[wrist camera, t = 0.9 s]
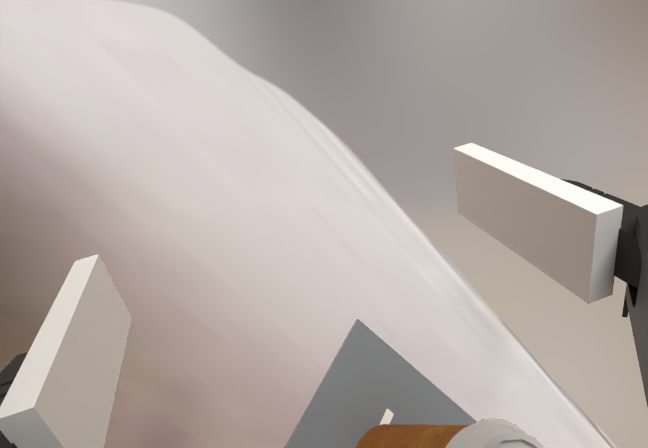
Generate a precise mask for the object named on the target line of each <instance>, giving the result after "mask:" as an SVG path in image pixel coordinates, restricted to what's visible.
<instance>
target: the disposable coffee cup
mask: <svg viewBox="0 0 648 448" xmlns="http://www.w3.org/2000/svg"><path fill="white" fill-rule="evenodd" d="M356 448H545V447H544V446H542V445H541V444H540V443H539V442H538V441H537V440H536V439H535V438H534V437H532V436H530V435H527V434H526V433H525V432H524V431H522V430H521V429H520V428H519V427H517V426H516V425H515V424H512V423H510V422H507V421H505V420H501V419H483V420H481V421H479V422H477V423H474V424H471V425H429V424H426V425H423V424H420V425H417V424H415V425H412V424H409V425H406V424H404V425H402V424H398V425H397V424H393V425H392V424H382V425H378V426H376V427H373V428H371V429H370V430H369V431H367V432H366V433H365V434H364V435H363V436H362V437H361V439H360V440H359V442H358V444H357V445H356Z"/></svg>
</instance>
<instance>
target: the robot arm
mask: <svg viewBox="0 0 648 448" xmlns="http://www.w3.org/2000/svg"><path fill="white" fill-rule="evenodd" d="M454 161H455V176H456V191H457V205H458V213H459V214H461V215H462V216H464V217H465V218H466V219H468V220H469V221H471V222H472V223H474V224H475V225H477V226H478V227H479V228H481V229H482V230H484V231H485V232H487V233H488V234H489V235H491V236H492V237H494V238H495V239H497V240H498V241H499V242H501V243H502V244H504V245H505V246H507V247H508V248H509V249H511V250H513V251H514V252H515V253H517V254H518V255H519V256H521V257H523V258H524V259H525V260H527V261H528V262H529V263H531V264H532V265H534V266H535V267H537V268H538V269H540V270H541V271H542V272H544V273H545V274H547V275H548V276H550V277H551V278H552V279H554V280H555V281H557V282H558V283H560V284H561V285H563V286H564V287H565V288H567V289H568V290H570V291H571V292H573V293H574V294H575V295H577V296H578V297H580V298H581V299H582V300H584V301H585V302H587V303H588V304H589V303H591V302H594V301H597V300H599V299H602V298H605V297H607V296H610V295H612V292H613V284H614V276H616V277H618V278H620V279H621V280H623V281H625V282H626V283H627V287H626V293H625V301H624V307H623V314H622V317H627V316H628V312H629V316H630V321H631V326H632V331H633V336H634V340H635V346H636V351H637V356H638V361H639V366H640V371H641V375H642V381H643V386H644V391H645V395H646V401H647V406H648V205H645V206H642V207H639V206H637V205H634V204H632V203H629V202H627V201H624V200H622V199H619V198H617V197H614V196H612V195H609V194H604V192H602V191H599V190H597V189H592V187H589V186H587V185H584V184H582V183H579V182H575V181H570V180H564V179H558V178H556V177H553V176H551V175H548V174H546V173H543V172H541V171H539V170H536V169H534V168H531V167H529V166H527V165H524V164H522V163H519V162H517V161H514V160H512V159H509V158H507V157H505V156H502V155H500V154H497V153H495V152H492V151H490V150H487V149H485V148H483V147H480V146H478V145H475V144H473V143H470V144H466V145H463V146H460V147H457V148H454ZM131 320H132V317H131V315H130V313H129V311H128V309H127V307H126V305H125V303H124V302H123V300H122V298H121V296H120V294H119V292H118V290H117V288H116V286H115V284H114V282H113V280H112V278H111V276H110V274H109V273H108V271H107V269H106V267H105V265H104V263H103V261H102V259H101V257H100V255H99V254H97V255H94V256H90V257H87V258H84V259H80V260H77V261H75V262H74V264H73V266H72V268H71V270H70V272H69V274H68V276H67V278H66V280H65V282H64V284H63V286H62V288H61V290H60V291H59V293H58V295H57V297H56V299H55V301H54V303H53V305H52V307H51V309H50V311H49V313H48V315H47V317H46V319H45V321H44V323H43V325H42V326H41V328H40V330H39V332H38V334H37V336H36V338H35V340H34V342H33V344H32V346H31V348H30V350H29V352H26V353H23V354H20V355H17V356H16V357H15V358H14V359H13V360H12V361H11V362H10V363H9V364H8V365H7V366H6V367H5V369H4V370H3V371H2V372H1V373H0V448H104V445H105V440H106V435H107V431H108V426H109V421H110V417H111V412H112V408H113V403H114V398H115V394H116V389H117V385H118V380H119V375H120V371H121V366H122V362H123V357H124V352H125V348H126V343H127V339H128V334H129V329H130V325H131Z"/></svg>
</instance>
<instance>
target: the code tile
mask: <svg viewBox="0 0 648 448" xmlns="http://www.w3.org/2000/svg"><path fill="white" fill-rule="evenodd" d="M474 423H476V421H475V420H474V419H473V418H472V417H471V416H470V415H468V414H467V413H466V412H465V411H464V410H463V409H461V408H460V407H459V406H458V405H457V404H456V403H454V402H453V401H452V400H451V399H450V398H449V397H448V396H446V395H445V394H444V393H443V392H442V391H441V390H439V389H438V388H437V387H436V386H435V385H434V384H432V383H431V382H430V381H429V380H428V379H427V378H426V377H424V376H423V375H422V374H421V373H420V372H419V371H417V370H416V369H415V368H414V367H413V366H412V365H411V364H409V363H408V362H407V361H406V360H405V359H404V358H402V357H401V356H400V355H399V354H398V353H397V352H395V351H394V350H393V349H392V348H391V347H390V346H389V345H387V344H386V343H385V342H384V341H383V340H382V339H380V338H379V337H378V336H377V335H376V334H375V333H374V332H372V331H371V330H370V329H369V328H368V327H367V326H365V325H364V324H363V323H362V322H361V321H360V320H358V319H357V320H356V322H355V323H354V325H353V327H352V329H351V331H350V332H349V334H348V336H347V338H346V339H345V341H344V343H343V345H342V347H341V348H340V350H339V352H338V354H337V356H336V357H335V359H334V361H333V363H332V365H331V366H330V368H329V370H328V372H327V373H326V375H325V377H324V379H323V381H322V382H321V384H320V386H319V388H318V390H317V391H316V393H315V395H314V397H313V399H312V400H311V402H310V404H309V406H308V407H307V409H306V411H305V413H304V415H303V416H302V418H301V420H300V422H299V424H298V425H297V427H296V429H295V431H294V433H293V434H292V436H291V438H290V440H289V441H288V443H287V445H286V447H285V448H356V445H357V444H358V442H359V440H360V439H361V437H362V436H363V435H364V434H365V433H366V432H367V431H369V430H370V429H371V428H373V427H376V426H378V425H382V424H392V425H393V424H397V425H398V424H402V425H404V424H406V425H409V424H412V425H415V424H417V425H420V424H423V425H426V424H429V425H471V424H474Z"/></svg>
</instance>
